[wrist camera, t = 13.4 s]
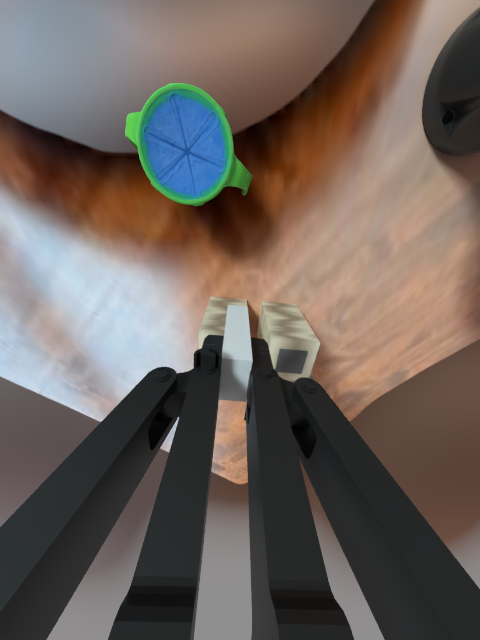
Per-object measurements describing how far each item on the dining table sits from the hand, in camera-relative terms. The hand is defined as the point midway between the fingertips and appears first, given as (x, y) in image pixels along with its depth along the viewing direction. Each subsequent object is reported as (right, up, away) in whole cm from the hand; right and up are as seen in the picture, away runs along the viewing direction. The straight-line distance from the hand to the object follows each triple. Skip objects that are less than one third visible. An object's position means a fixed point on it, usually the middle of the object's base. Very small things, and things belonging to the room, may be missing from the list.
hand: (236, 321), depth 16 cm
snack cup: (-6, +23, +16) cm, 29 cm away
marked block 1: (+8, 0, +27) cm, 28 cm away
